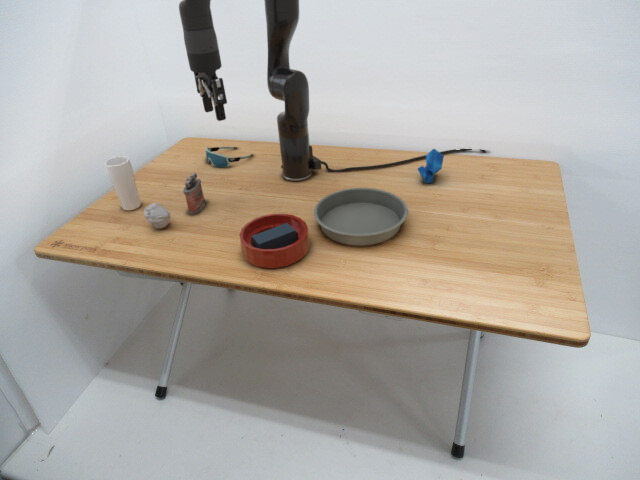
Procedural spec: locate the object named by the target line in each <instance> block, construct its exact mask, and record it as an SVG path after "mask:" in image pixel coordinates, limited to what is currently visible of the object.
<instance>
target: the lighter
mask: <svg viewBox="0 0 640 480" xmlns="http://www.w3.org/2000/svg"><path fill="white" fill-rule="evenodd" d="M184 185H185V186H184V188H183V190H182V192H183V194H184V197H185V201H186V204H187V209H188V215H191V216H195V215H198V214H199V213H200V212H201V211H202V210H203V209H204V207H205V205H206V199H205V196H204V192H203V187H202V180H201V178H198V174H197V173H196V172H193V173H191V175H190V176H189V177H188V176H187V177H186V178H185V181H184Z"/></svg>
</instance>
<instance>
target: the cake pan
mask: <svg viewBox="0 0 640 480" xmlns="http://www.w3.org/2000/svg"><path fill="white" fill-rule="evenodd" d="M408 214H409V207H408V205H407V203H406V202H405V201H404V200H403V199H402V198H401V197H399V196H398V195H396V194H394V193H392V192H389V191H387V190H383V189H379V188H373V187H350V188H344V189H340V190H336V191H334V192H331V193H329V194H327V195H325V196H324V197H322V198H321V199H320V200H319V201H318V202H317V203H316V204H315V206H314V209H313V217H314V219H315V220H316V222H317V223H318V224H319V225H320V228H321V231H322V232H323V234H324V235H325V236H326V237H328V238H329V239H331V240H333V241H334V242H337V243H338V244H339V243H340V244H343V245H348V246H357V247H358V246H359V247H361V246H362V247H363V246H372V245H378V244H381V243H383V242H385V241H388V240H390V239H391V238H393V237H394V236H395V235H396V234H397V233H398V232H399V231H400V228H401V226H402V224H403V223H404V222H405V221H406V220H407V218H408Z"/></svg>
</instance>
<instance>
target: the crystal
mask: <svg viewBox="0 0 640 480" xmlns="http://www.w3.org/2000/svg"><path fill="white" fill-rule="evenodd" d="M439 152H440V151H438V150H437V149H436V148H432V150H430V151H429V152H428V153H427V154H425V155H426V158H425V165H421V166H419V167H418V168H417V171H418V173H419V174H420V176H421V178H422V179H423V182H424V183H425V184H433V182H434V176H435V175H436V174H437V173H438V172H439V171H440V170H442V168H443V163H444V159H445V158H444V157H445V156H444V155H445V154H441V153H439Z"/></svg>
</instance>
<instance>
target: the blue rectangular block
mask: <svg viewBox="0 0 640 480" xmlns="http://www.w3.org/2000/svg"><path fill="white" fill-rule="evenodd" d="M251 237H252V242H253V247H255V248H260V249H277V248H283V247H286V246H288V245H291V244H293V243H295V242H296V241H297V239H296V230H295V229H294V228H292V227H291V226H290V225H289V224H288V223H285V224H283V225H280V226H277V227H275V228H272V229H269V230H266V231H264V232H261V233H258V234H256V235H253V236H251Z"/></svg>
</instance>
